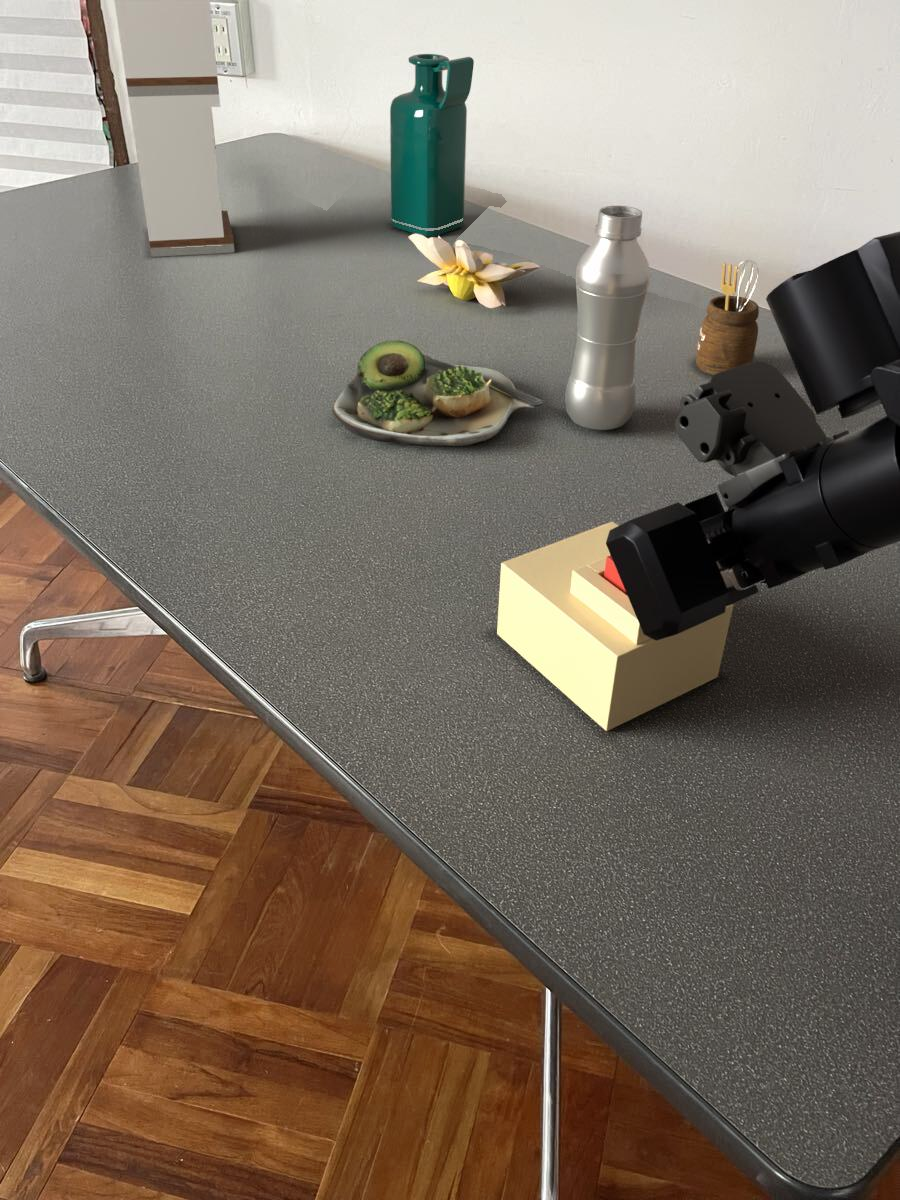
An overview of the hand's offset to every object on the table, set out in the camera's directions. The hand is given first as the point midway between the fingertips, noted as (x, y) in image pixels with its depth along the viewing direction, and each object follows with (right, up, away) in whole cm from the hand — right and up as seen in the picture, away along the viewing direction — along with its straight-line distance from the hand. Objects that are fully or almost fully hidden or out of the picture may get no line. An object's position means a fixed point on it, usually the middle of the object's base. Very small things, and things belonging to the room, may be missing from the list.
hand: (672, 567), depth 66 cm
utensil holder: (+15, +23, +49) cm, 56 cm away
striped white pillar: (-48, +46, +79) cm, 103 cm away
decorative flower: (-10, +35, +64) cm, 74 cm away
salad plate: (-16, +17, +40) cm, 46 cm away
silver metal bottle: (+1, +15, +38) cm, 41 cm away
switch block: (-3, -6, +9) cm, 11 cm away
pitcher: (-16, +50, +86) cm, 101 cm away
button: (-1, -1, +3) cm, 3 cm away
